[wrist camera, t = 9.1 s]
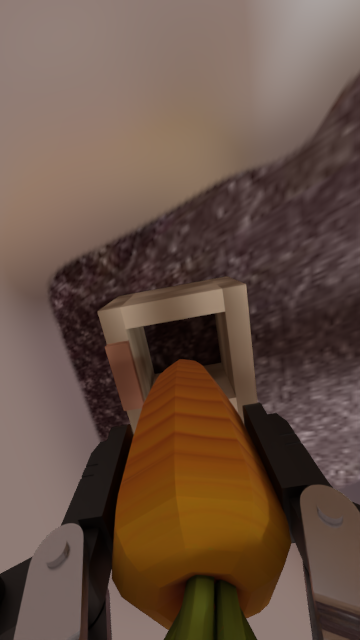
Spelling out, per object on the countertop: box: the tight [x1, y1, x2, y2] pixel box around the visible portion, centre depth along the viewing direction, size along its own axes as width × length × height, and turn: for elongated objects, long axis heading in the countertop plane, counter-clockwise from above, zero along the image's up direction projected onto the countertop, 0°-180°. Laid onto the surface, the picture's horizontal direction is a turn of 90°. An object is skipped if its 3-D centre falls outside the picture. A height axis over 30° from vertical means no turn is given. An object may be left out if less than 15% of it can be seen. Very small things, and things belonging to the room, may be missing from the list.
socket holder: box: [97, 276, 257, 434], centre depth 19 cm, size 10×18×6 cm, turn 10°
